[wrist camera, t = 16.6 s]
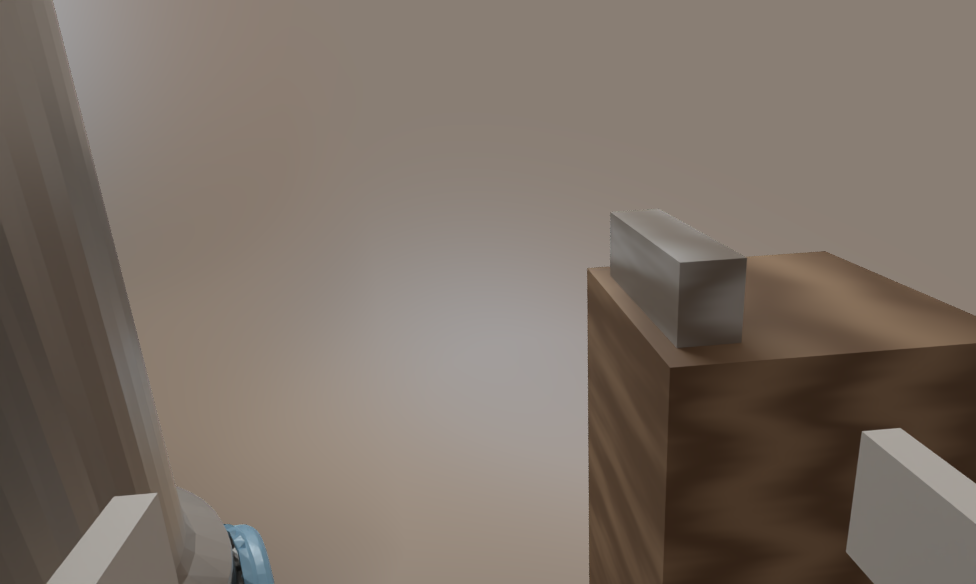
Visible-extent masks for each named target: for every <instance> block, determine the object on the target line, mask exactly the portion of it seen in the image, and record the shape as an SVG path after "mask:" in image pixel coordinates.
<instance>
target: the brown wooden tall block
mask: <svg viewBox="0 0 976 584" xmlns="http://www.w3.org/2000/svg"><path fill="white" fill-rule="evenodd" d="M610 220H611V221H610V267H596V268H587V284H588V285H587V286H588V287H587V288H588V289H587V296H588V432H589V433H588V434H589V435H588V441H589V442H588V444H589V446H588V447H589V577H590V578H589V579H590V580H589V584H874V583H873V582H872V581H871V580H870V579H869V578H868V576H867V575H866V574H865V573H864V572H863V571H862V570H861V568H860V567H859V566H858V565H857V564H856V563H855V562H854V560H853V559H852V558H851V557H850V556H849V555H848V554H847V553H846V547H847V540H848V532H849V525H850V517H851V510H852V502H853V494H854V487H855V479H856V472H857V464H858V457H859V449H860V441H861V434H862V431H871V430H882V429H894V428H901V429H902V430H904V431H905V432H907V433H908V434H909V435H911V436H912V437H913V438H915V439H916V440H917V441H919V442H920V443H921V444H923V445H924V446H925V447H927V448H928V449H930V450H931V451H932V452H934V453H935V454H936V455H938V456H939V457H940V458H942V459H943V460H944V461H946V462H947V463H949V464H950V465H951V466H953V467H954V468H955V469H957V470H958V471H959V472H961V473H962V474H963V475H965V476H966V477H967V478H969V479H970V480H972V481H973V482H974V483H976V316H974V315H972V314H970V313H967V312H965V311H963V310H960V309H958V308H956V307H953V306H951V305H949V304H947V303H944V302H942V301H940V300H937V299H935V298H933V297H930V296H928V295H926V294H923V293H921V292H919V291H916V290H914V289H911V288H909V287H907V286H905V285H902V284H900V283H898V282H895V281H893V280H891V279H888V278H886V277H883V276H881V275H879V274H877V273H874V272H872V271H869V270H867V269H865V268H863V267H860V266H858V265H856V264H853V263H851V262H849V261H846V260H844V259H842V258H839V257H837V256H835V255H832V254H830V253H828V252H825V251H822V252H809V253H794V254H779V255H766V256H752V257H745V256H743V255H741V254H739V253H737V252H736V251H734V250H732V249H730V248H728V247H727V246H725V245H723V244H721V243H720V242H718V241H716V240H714V239H712V238H711V237H709V236H707V235H705V234H703V233H701V232H700V231H698V230H696V229H694V228H693V227H691V226H689V225H687V224H685V223H684V222H682V221H680V220H678V219H676V218H674V217H673V216H671V215H669V214H667V213H666V212H664V211H662V210H660V209H648V210H633V211H618V212H611V213H610Z"/></svg>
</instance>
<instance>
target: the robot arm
mask: <svg viewBox="0 0 976 584" xmlns="http://www.w3.org/2000/svg"><path fill="white" fill-rule="evenodd" d="M846 553H847V554H848V555H849V556H850V557H851V558H852V559H853V560H854V562H855V563H856V564H857V565H858V566H859V567H860V568H861V570H862V571H863V572H864V573H865V574H866V575H867V576H868V578H869V579H870V580H871V581H872V582H873V583H874V584H976V483H974V482H973V481H972V480H970V479H969V478H967V477H966V476H965V475H963V474H962V473H961V472H959V471H958V470H957V469H955V468H954V467H953V466H951V465H950V464H949V463H947V462H946V461H944V460H943V459H942V458H940V457H939V456H938V455H936V454H935V453H934V452H932V451H931V450H930V449H928V448H927V447H925V446H924V445H923V444H921V443H920V442H919V441H917V440H916V439H915V438H913V437H912V436H911V435H909V434H908V433H907V432H905V431H904V430H902V429H901V428H894V429H882V430H871V431H862V434H861V441H860V449H859V457H858V464H857V472H856V479H855V487H854V494H853V502H852V510H851V517H850V525H849V532H848V540H847V547H846ZM0 584H274V579H273V575H272V570H271V566H270V563H269V559H268V556H267V551H266V548H265V545H264V543H263V540H262V538H261V536H260V534H259V533H258V531H257V530H256V529H254V528H253V527H251V526H248V525H235V526H233V525H230V524H223V523H222V521H221V519H220V518H219V516H218V515H217V513H216V511H215V510H214V509H213V508H212V507H211V506H210V505H209V504H208V503H207V502H205V501H204V500H203V499H201V498H200V497H198V496H196V495H195V494H194V493H192V492H189V491H187V490H185V489H183V488H181V487H178V486H176V485H175V482H174V478H173V474H172V470H171V466H170V462H169V458H168V454H167V450H166V446H165V442H164V438H163V435H162V430H161V426H160V423H159V418H158V414H157V410H156V406H155V402H154V399H153V395H152V391H151V387H150V383H149V379H148V375H147V371H146V367H145V363H144V359H143V355H142V351H141V348H140V343H139V339H138V335H137V331H136V327H135V324H134V320H133V316H132V312H131V308H130V304H129V300H128V296H127V292H126V288H125V284H124V280H123V276H122V272H121V269H120V264H119V260H118V256H117V252H116V248H115V244H114V240H113V237H112V233H111V229H110V225H109V221H108V217H107V213H106V209H105V206H104V201H103V197H102V193H101V189H100V186H99V181H98V177H97V173H96V170H95V165H94V161H93V158H92V154H91V150H90V146H89V142H88V138H87V134H86V130H85V126H84V122H83V118H82V114H81V110H80V107H79V102H78V99H77V95H76V90H75V87H74V83H73V79H72V75H71V71H70V67H69V63H68V59H67V55H66V51H65V47H64V43H63V39H62V35H61V31H60V27H59V23H58V19H57V15H56V11H55V8H54V3H53V0H0Z"/></svg>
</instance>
